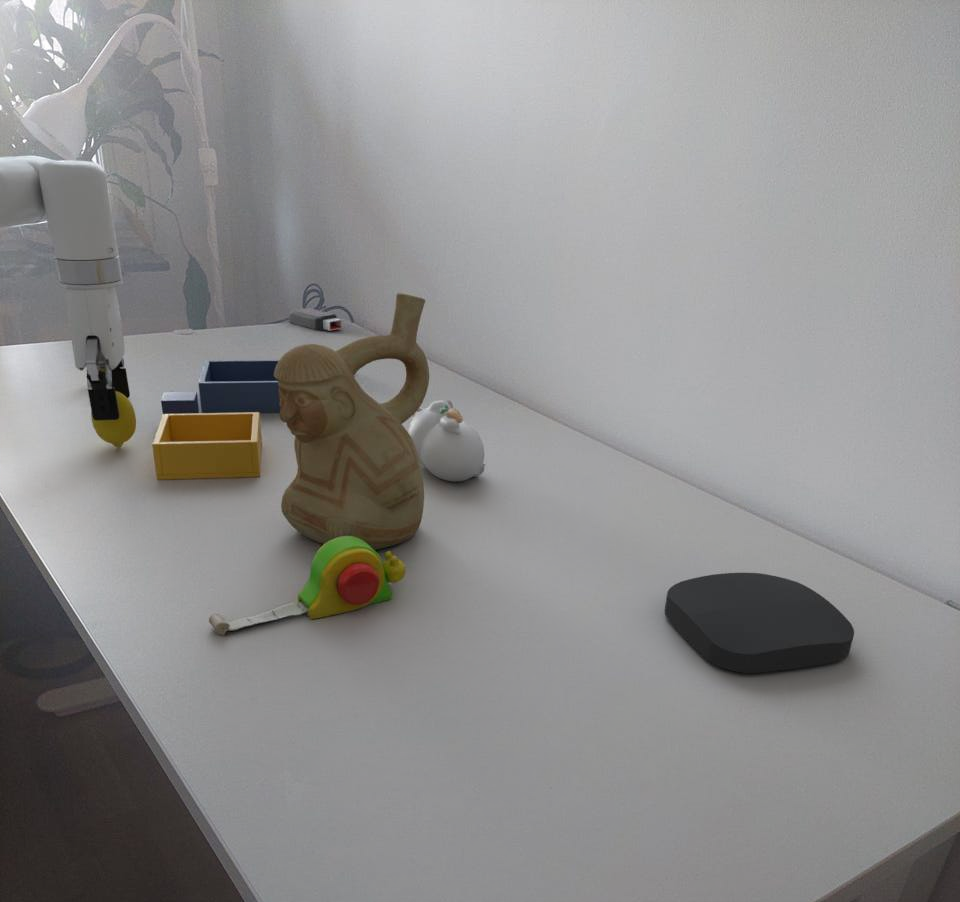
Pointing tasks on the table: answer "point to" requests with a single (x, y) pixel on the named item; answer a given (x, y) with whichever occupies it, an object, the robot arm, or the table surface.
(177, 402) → the navy block
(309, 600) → the toy measuring tape
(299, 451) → the ceramic vessel
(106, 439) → the lemon
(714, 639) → the media streaming box
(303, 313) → the usb drive
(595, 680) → the table surface
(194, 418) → the yellow bin
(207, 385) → the blue bin
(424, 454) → the cat figurine
